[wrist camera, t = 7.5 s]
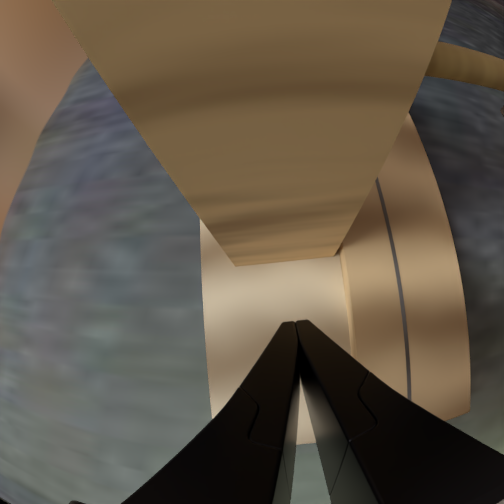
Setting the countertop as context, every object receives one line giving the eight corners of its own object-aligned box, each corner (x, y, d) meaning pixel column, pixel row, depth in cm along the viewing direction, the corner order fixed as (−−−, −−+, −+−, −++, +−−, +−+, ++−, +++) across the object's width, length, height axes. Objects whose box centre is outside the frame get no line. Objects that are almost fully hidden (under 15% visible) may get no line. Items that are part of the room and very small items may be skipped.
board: (451, 405, 15) (470, 411, 13) (219, 442, 16) (209, 456, 14) (389, 107, 22) (396, 87, 19) (203, 121, 23) (195, 101, 21)
